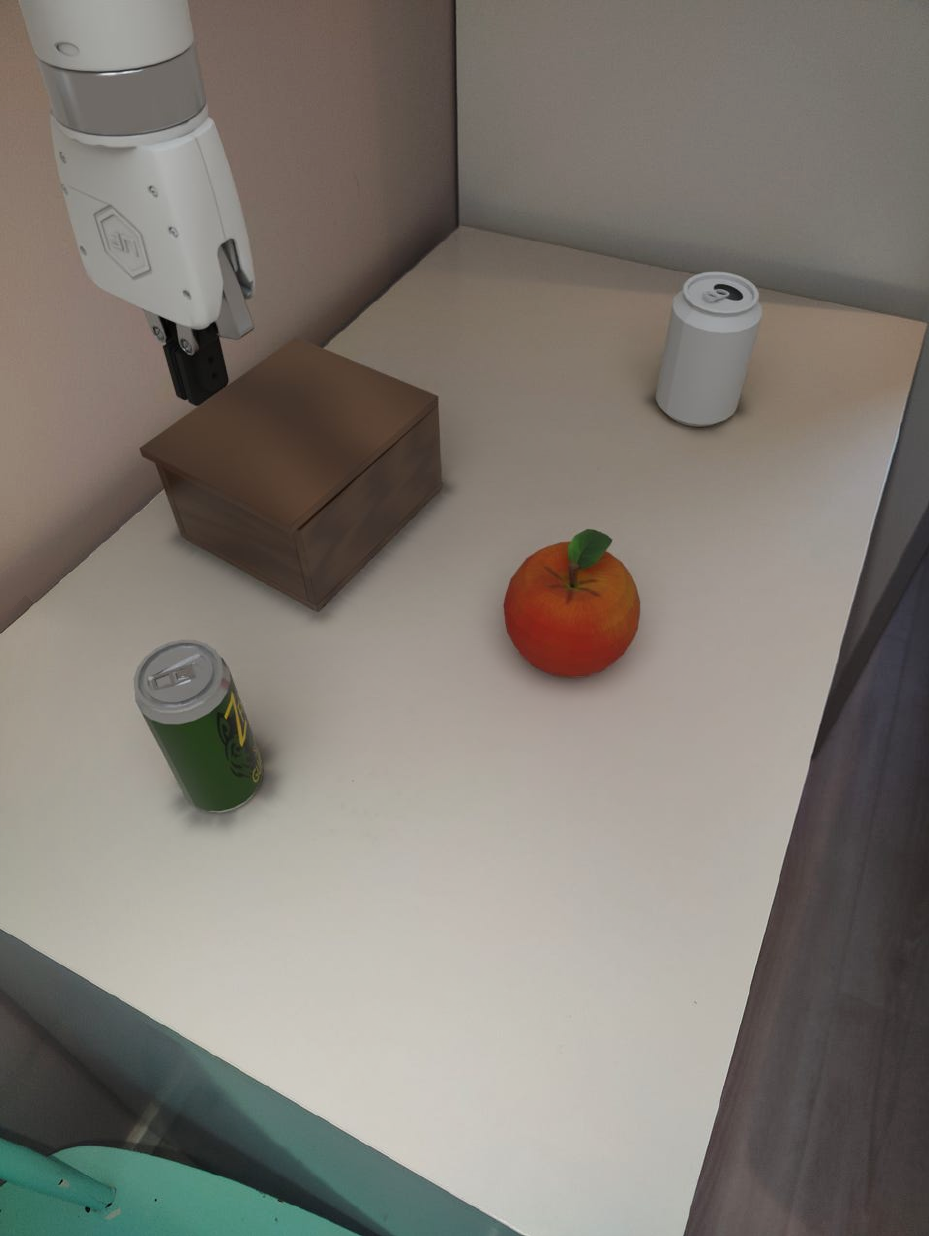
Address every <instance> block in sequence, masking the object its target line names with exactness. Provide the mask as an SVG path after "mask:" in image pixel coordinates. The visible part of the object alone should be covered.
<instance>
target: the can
mask: <svg viewBox="0 0 929 1236" xmlns="http://www.w3.org/2000/svg"><path fill="white" fill-rule="evenodd" d="M759 300H760V293H759V290H758V288H757V287H756V286H755V284H754V283H752V282H751V281H750V280H748V279H747V278H745V277H743V276H741V275H738V274H734V273H731V272H727V271H703V272H702V273H701V272H700V273H697V274H695V275H693V276H691V277H690V278H688V279H686V281H685V282H684V283H683V286H682V290H679V292H677V293H676V295H675V297H674V298H673V299H672V303H671V309H670V315H669V320H668V325H667V331H666V336H665V341H664V347H663V351H662V352H663V353H662V356H661V357H662V358H661V363H660V369H659V374H658V379H657V385H656V392H655V400H656V402H657V405H658V407H659V408H660V409H661V410H662V411H663V412H664V413H665V414H666V415H667V416H668V417H669V418H671V419H672V420H674V421H676V422H677V423H679V424H682V425H685V426H689V427H698V428H701V427H710V426H713V425H715V424H718V423H720V422H723V421H726V420H727V419H728V418H730V417H731V416H733V415H734V414H735V412H736V410H737V409H738V406H739V402H740V398H741V394H742V391H743V388H744V385H745V380H746V377H747V374H748V369H749V365H750V362H751V358H752V355H753V351H754V347H755V344H756V340H757V337H758V332H759V329H760V326H761V322H762V318H763V306H762V305H761V304H760V302H759Z"/></svg>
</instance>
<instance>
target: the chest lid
mask: <svg viewBox="0 0 929 1236" xmlns="http://www.w3.org/2000/svg"><path fill="white" fill-rule="evenodd" d="M439 400H440V399H439V396H438V395H437V394H434V393H432V392H430V391H427V390H426V389H422V388H421V387H418V386H416V385H413V384H411V383H408V382H406V381H403V380H400V379H398V378H396V377H393V376H391V375H388V374H386V373H384V372H381V371H379V370H377V369H374V368H373V367H370V366H367V365H364V364H362V363H360V362H357V361H356V360H353V359H350V358H348V357H345V356H343V355H340V354H338V353H336V352H333V351H331V350H328V349H326V348H323V347H321V346H319V345H316V344H314V343H311V342H309V341H307V340H304V339H303V338H302V339H301V338H299V337H296V336H295V337H293V338H292V339H291V340H289V341H288V342H286V343H285V344H283V346H281V347H280V348H278V349H277V350H275V351H273V352H272V353H271V354H269V355H268V356H267V357H266V358H264V359H263V360H261V361H259V363H257V364H256V365H254V366H253V367H251V368H249V370H247V371H246V372H244V373H243V374H241V375H240V376H239V377H237V378H235V379H234V380H233V381H232V382H230V383H228V385H227V386H226V387H225V388H223V389H222V390H220V391H219V392H218V393H216V394H215V395H213V396H212V397H210V398H209V399H208V400H206V401H205V402H203V403H202V404H201V405H199V406H196V407H195V408H194V409H192V410H190V411H189V412H188V413H186V414H185V415H183V417H181V418H180V419H178V420H177V421H175V422H174V423H172V424H171V425H170V426H168V427H167V428H165V429H164V430H163V431H162V432H160V433H158V434H157V435H156V436H154V437H153V438H151V439H150V440H149V441H148V442H146V443H144V444H143V445H142V446H140V447H139V452H140V454H141V457H142V458H145V459H147V460H148V461H150V462H152V463H153V464H155V463H156V464H158V465H160V466H162V467H164V468H166V469H168V470H169V471H171V472H173V473H175V474H177V475H179V476H181V477H183V478H185V479H187V480H189V481H191V482H193V483H195V484H196V485H198V486H200V487H202V488H204V489H206V490H208V491H210V492H212V493H214V494H216V495H218V496H220V497H222V498H223V499H225V500H227V501H229V502H231V503H233V504H235V505H237V506H239V507H241V508H243V509H245V510H247V511H249V512H250V513H252V514H254V515H256V516H258V517H260V518H262V519H264V520H266V521H268V522H270V523H272V524H274V525H276V526H278V527H279V528H281V529H283V530H285V531H287V532H289V533H291V534H292V533H293V532H295V531H296V530H297V529H298V528H299V527H300V526H301V525H302V524H304V523H305V522H306V521H307V520H308V519H309V518H310V517H312V516H313V515H314V514H315V513H316V512H317V511H318V510H319V509H321V508H322V507H323V506H324V505H325V504H326V503H327V502H328V501H330V500H331V499H332V498H333V497H334V496H335V495H336V494H338V493H339V492H340V491H341V490H342V489H343V488H344V487H345V486H347V485H348V484H349V483H350V482H351V481H352V480H353V479H354V478H356V477H357V476H358V475H359V474H360V473H361V472H362V471H364V470H365V469H366V468H367V467H368V466H369V465H370V464H371V463H373V462H374V461H375V460H376V459H377V458H378V457H379V456H380V455H382V454H383V453H384V452H385V451H386V450H387V449H388V448H390V447H391V446H392V445H393V444H394V443H395V442H396V441H397V440H399V439H400V438H401V437H402V436H403V435H404V434H405V433H406V432H408V431H409V430H410V429H411V428H412V427H413V426H414V425H416V424H417V423H418V422H419V421H420V420H421V419H422V418H423V417H425V416H426V415H427V414H428V413H429V412H430V411H431V410H432V409H434V408H435V407H436V406H437V405H439V404H440V403H439Z"/></svg>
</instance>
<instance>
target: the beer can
mask: <svg viewBox="0 0 929 1236" xmlns="http://www.w3.org/2000/svg"><path fill="white" fill-rule="evenodd" d="M133 689H134V701H135V703H136V705H137V707H138V709H139V711H140V713H141V715H142V716H143V718H144V720H145V723H146V724H147V726H148V728H149V731H150V732H151V734H152V736H153V738H154V740H155V742H156V744H157V745H158V747H159V749H160V751H161V753H162V755H163V757H164V759H165V761H166V763H167V765H168V767H169V769H170V771H171V772H172V774H173V776H174V778H175V780H176V782H177V784H178V786H179V788H180V790H181V791H182V793H183V795H184V797H185V799H186V800H187V802H189V803H190V804H191V805H193V806H194V807H195V808H198V809H200V810H203V811H206V812H209V813H226V812H230V811H235V810H236V809H238V808H240V807H242V806H244V805H245V804H247V803H248V802H249V801H250V799H252V798H253V797H254V796H255V794H256V792H257V791H258V789H259V787H260V784H261V783H262V779H263V775H264V770H265V769H264V764H263V758H262V756H261V753H260V749H259V747H258V744H257V742H256V738H255V736H254V733H253V731H252V727H251V724H250V722H249V720H248V717H247V714H246V711H245V709H244V706H243V703H242V700H241V697H240V695H239V692H238V689H237V687H236V683H235V681H234V679H233V675H232V672H231V670H230V668H229V666H228V664H227V662H226V660H225V659H224V658H223V657H222V656H221V655H220V654H219V652H218V651H217V649H215V648H214V647H212V646H211V645H209V644H208V643H206V642H203V641H200V640H196V639H179V640H173V641H169V642H166V643H164V644H162V645H160V646H158V647H156V648H154V649H153V650H152V651H151V652H149V653H148V654H147V655H145V656H144V658H143V659H142V660H141V661H140V663H139V665H137V667H136V670H135V672H134V676H133Z"/></svg>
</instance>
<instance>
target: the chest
mask: <svg viewBox="0 0 929 1236" xmlns="http://www.w3.org/2000/svg"><path fill="white" fill-rule="evenodd" d="M440 427H441V426H440V407H439V404H438V405H437V406H436V407H435V408H434V409H432V410H431V411H430V412H429V413H428V414H427V415H426V416H425V417H423V418H422V419H421V420H420V421H419V422H418V423H417V424H416V425H414V426H413V427H412V428H411V429H410V430H409V431H408V432H406V433H405V434H404V435H403V436H402V437H401V438H400V439H399V440H397V441H396V442H395V443H394V444H393V445H392V446H391V447H390V448H388V449H387V450H386V451H385V452H384V453H383V454H382V455H380V456H379V457H378V458H377V459H376V460H375V461H374V462H373V463H371V464H370V465H369V466H368V467H367V468H366V469H365V470H364V471H362V472H361V473H360V474H359V475H358V476H357V477H356V478H354V479H353V480H352V481H351V482H350V483H349V484H348V485H347V486H345V487H344V488H343V489H342V490H341V491H340V492H339V493H338V494H336V495H335V496H334V497H333V498H332V499H331V500H330V501H328V502H327V503H326V504H325V505H324V506H323V507H322V508H321V509H319V510H318V511H317V512H316V513H315V514H314V515H313V516H312V517H310V518H309V519H308V520H307V521H306V522H305V523H304V524H302V525H301V526H300V527H299V528H298V529H297V530H296V531H295V532H293V533H292V534H291V533H289V532H287V531H285V530H283V529H281V528H279V527H278V526H276V525H274V524H272V523H270V522H268V521H266V520H264V519H262V518H260V517H258V516H256V515H254V514H252V513H250V512H249V511H247V510H245V509H243V508H241V507H239V506H237V505H235V504H233V503H231V502H229V501H227V500H225V499H223V498H222V497H220V496H218V495H216V494H214V493H212V492H210V491H208V490H206V489H204V488H202V487H200V486H198V485H196V484H195V483H193V482H191V481H189V480H187V479H185V478H183V477H181V476H179V475H177V474H175V473H173V472H171V471H169V470H168V469H166V468H164V467H162V466H160V465H158V464H156V463H154V465H155V467H156V470H157V473H158V476H159V479H160V481H161V484H162V487H163V489H164V492H165V495H166V498H167V501H168V503H169V506H170V508H171V512H172V514H173V517H174V519H175V522H176V526H177V528H178V530H179V533H180V534H179V535H180V536H181V537H182V538H183V539H184V540H187V541H188V542H190V543H192V544H194V545H196V546H198V547H199V548H201V549H203V550H204V551H206V552H208V553H210V554H211V555H214V556H216V557H218V558H219V559H221V560H222V561H225V562H227V563H228V564H230V565H232V566H234V567H236V568H237V569H239V570H241V571H243V572H245V573H246V574H248V575H250V576H252V577H254V578H256V579H257V580H259V581H261V582H263V583H265V584H266V585H268V586H270V587H272V588H273V589H275V590H277V591H279V592H281V593H283V594H284V595H286V596H287V597H290V598H292V599H293V600H295V601H297V602H299V603H301V604H303V605H304V606H305V607H308V608H310V609H312V610H314V611H315V612H317V613H319V612H320V610H322V609H323V607H325V605H326V604H328V603H329V602H330V601H331V600H332V599H333V598H334V597H335V596H336V595H337V594H338V593H339V592H340V591H341V590H342V589H343V588H344V587H345V586H346V585H347V584H348V583H349V582H350V581H351V580H352V579H353V578H354V577H355V576H356V575H357V574H358V573H359V572H360V571H361V570H362V569H363V568H364V567H365V566H366V565H367V564H368V563H369V562H370V561H371V560H372V559H373V558H374V557H375V556H376V555H377V554H378V553H379V552H380V551H381V550H382V549H383V548H384V547H385V546H386V545H387V544H388V543H389V542H390V541H391V540H392V539H393V538H394V537H395V536H396V535H397V534H398V533H399V532H400V531H401V530H402V529H403V528H404V527H405V526H406V525H407V524H408V523H409V522H410V521H412V519H413V518H414V517H415V516H416V515H417V514H418V513H419V512H420V511H421V510H422V509H423V508H424V507H425V506H426V505H427V504H428V503H429V502H430V501H431V500H432V499H433V498H434V497H435V496H437V494H438V493H439V492H440V491H441V490H442V489H443V480H442V479H443V478H442V454H441V430H440V429H441V428H440Z"/></svg>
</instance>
